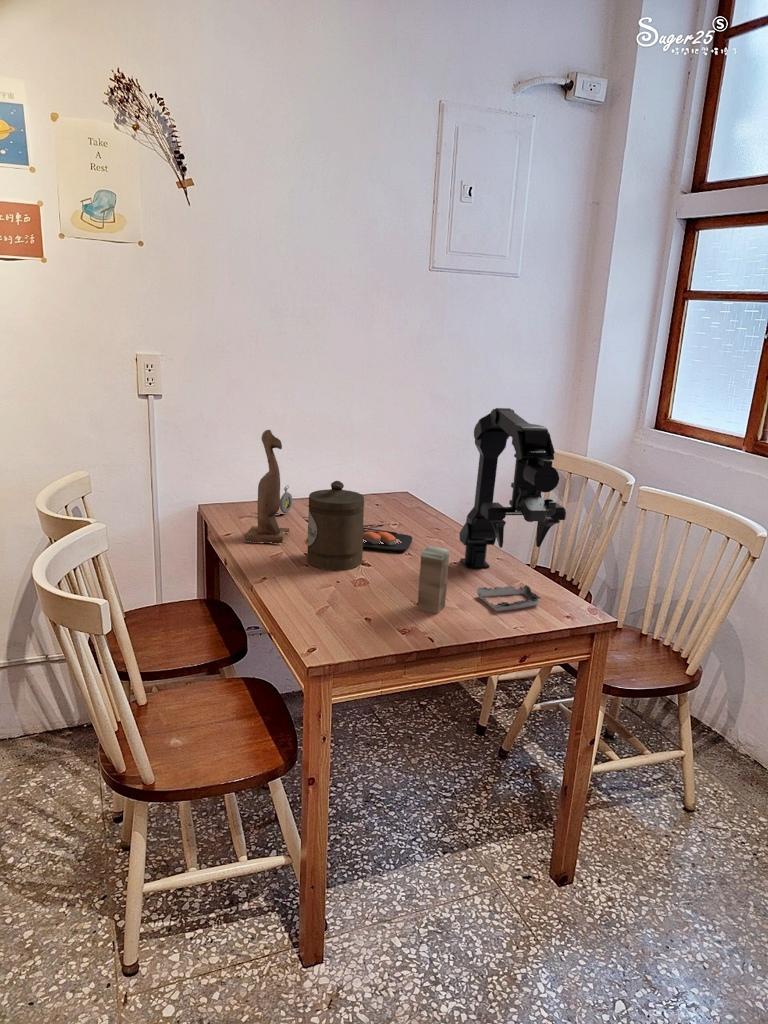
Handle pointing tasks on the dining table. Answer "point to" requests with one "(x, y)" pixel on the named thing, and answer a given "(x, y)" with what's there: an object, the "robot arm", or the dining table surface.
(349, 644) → the dining table surface
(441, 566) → the grey-green metal block
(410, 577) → the dining table surface
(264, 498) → the bird sculpture
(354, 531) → the wooden container
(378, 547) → the sushi plate
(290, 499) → the pocket watch
